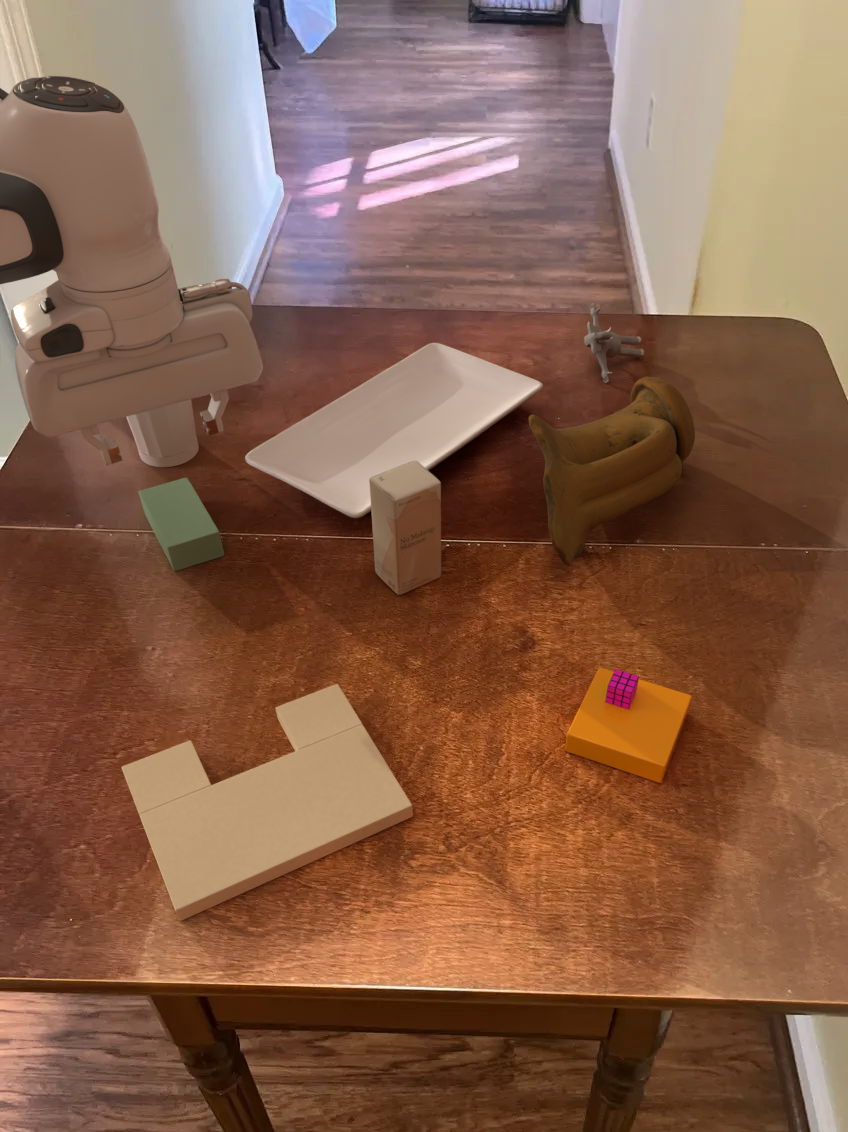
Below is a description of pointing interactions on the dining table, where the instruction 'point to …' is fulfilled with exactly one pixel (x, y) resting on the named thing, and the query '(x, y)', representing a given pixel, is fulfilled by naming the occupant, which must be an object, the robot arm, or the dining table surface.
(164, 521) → the pad
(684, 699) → the orange square pedestal
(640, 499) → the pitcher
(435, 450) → the tray
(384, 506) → the box
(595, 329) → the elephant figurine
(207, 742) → the dining table surface
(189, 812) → the beige notched block
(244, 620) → the dining table surface
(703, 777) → the dining table surface
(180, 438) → the cup
